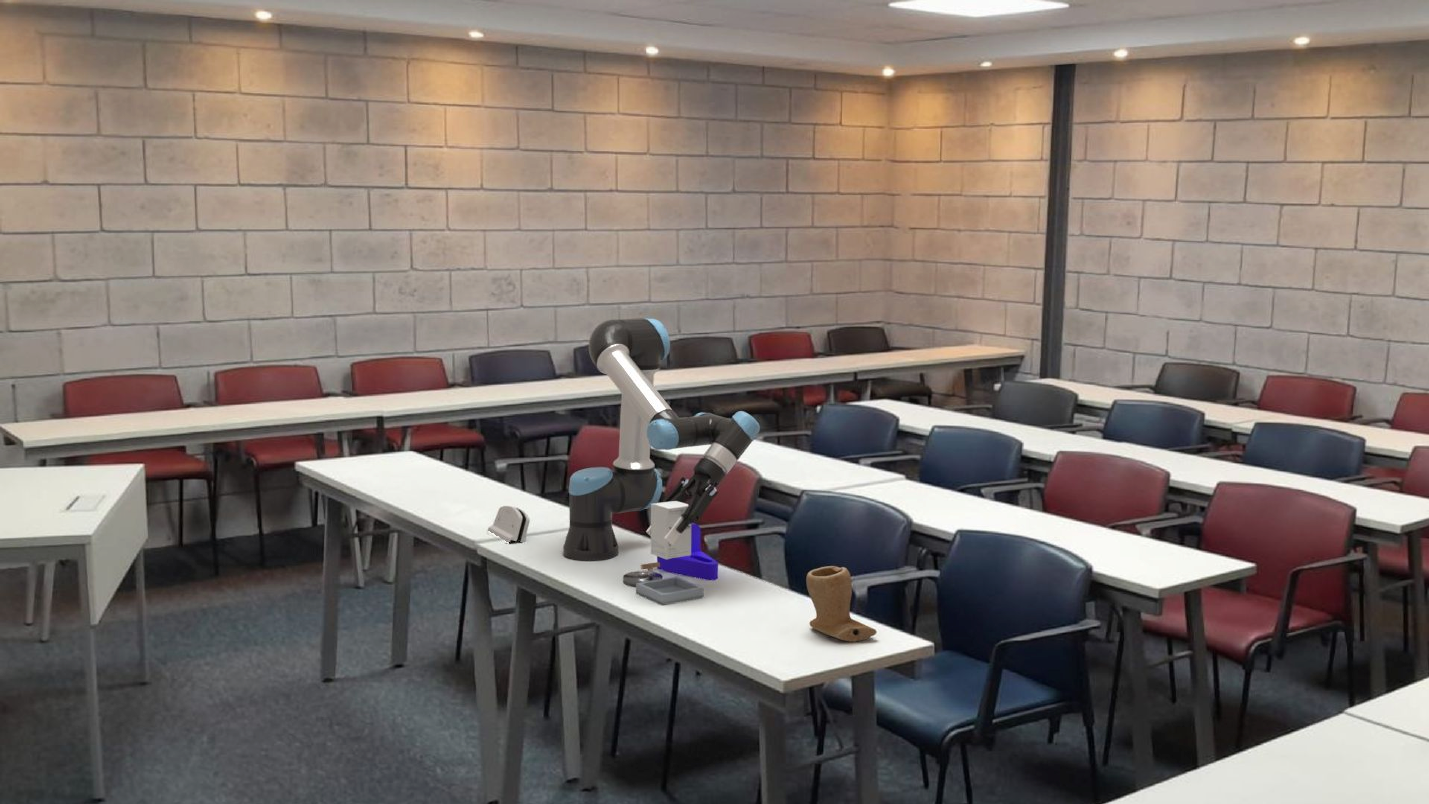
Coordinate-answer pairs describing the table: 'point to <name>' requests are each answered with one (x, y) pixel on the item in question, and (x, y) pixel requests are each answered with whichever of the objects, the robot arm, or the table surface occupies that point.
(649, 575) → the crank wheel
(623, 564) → the table surface
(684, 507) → the supplement box
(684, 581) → the tray
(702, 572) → the bracket
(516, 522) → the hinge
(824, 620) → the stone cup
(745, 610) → the table surface
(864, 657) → the table surface
